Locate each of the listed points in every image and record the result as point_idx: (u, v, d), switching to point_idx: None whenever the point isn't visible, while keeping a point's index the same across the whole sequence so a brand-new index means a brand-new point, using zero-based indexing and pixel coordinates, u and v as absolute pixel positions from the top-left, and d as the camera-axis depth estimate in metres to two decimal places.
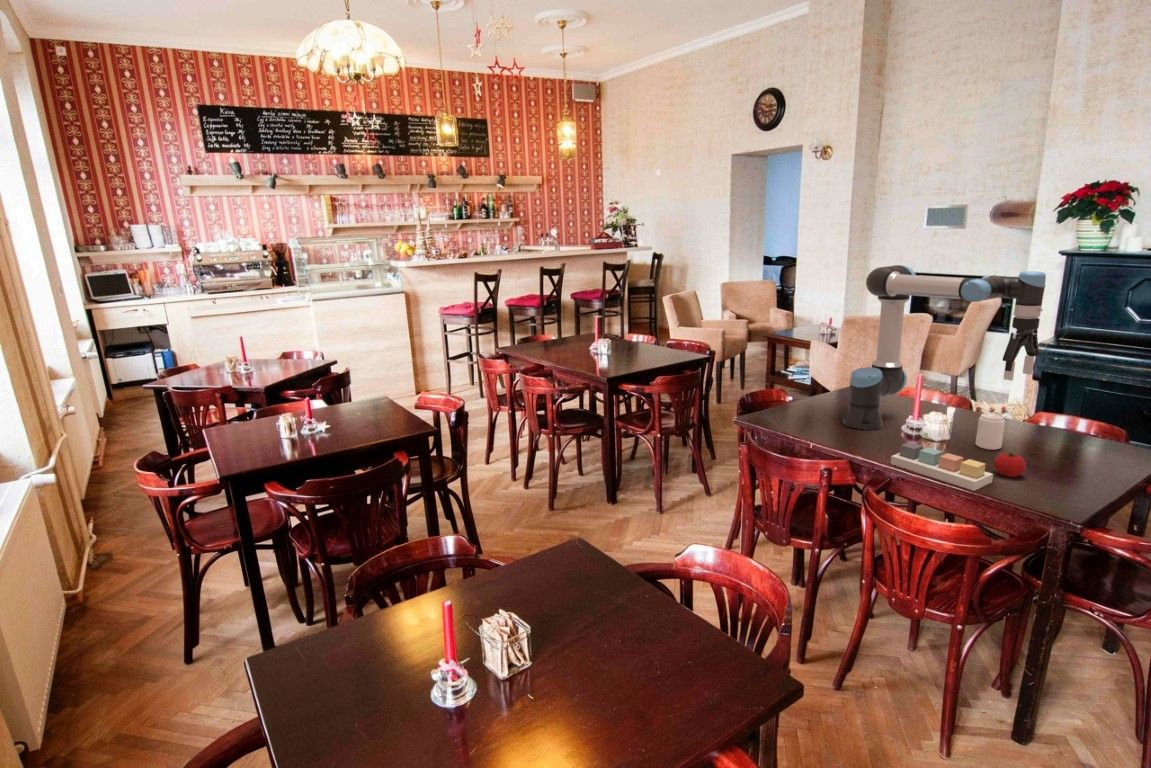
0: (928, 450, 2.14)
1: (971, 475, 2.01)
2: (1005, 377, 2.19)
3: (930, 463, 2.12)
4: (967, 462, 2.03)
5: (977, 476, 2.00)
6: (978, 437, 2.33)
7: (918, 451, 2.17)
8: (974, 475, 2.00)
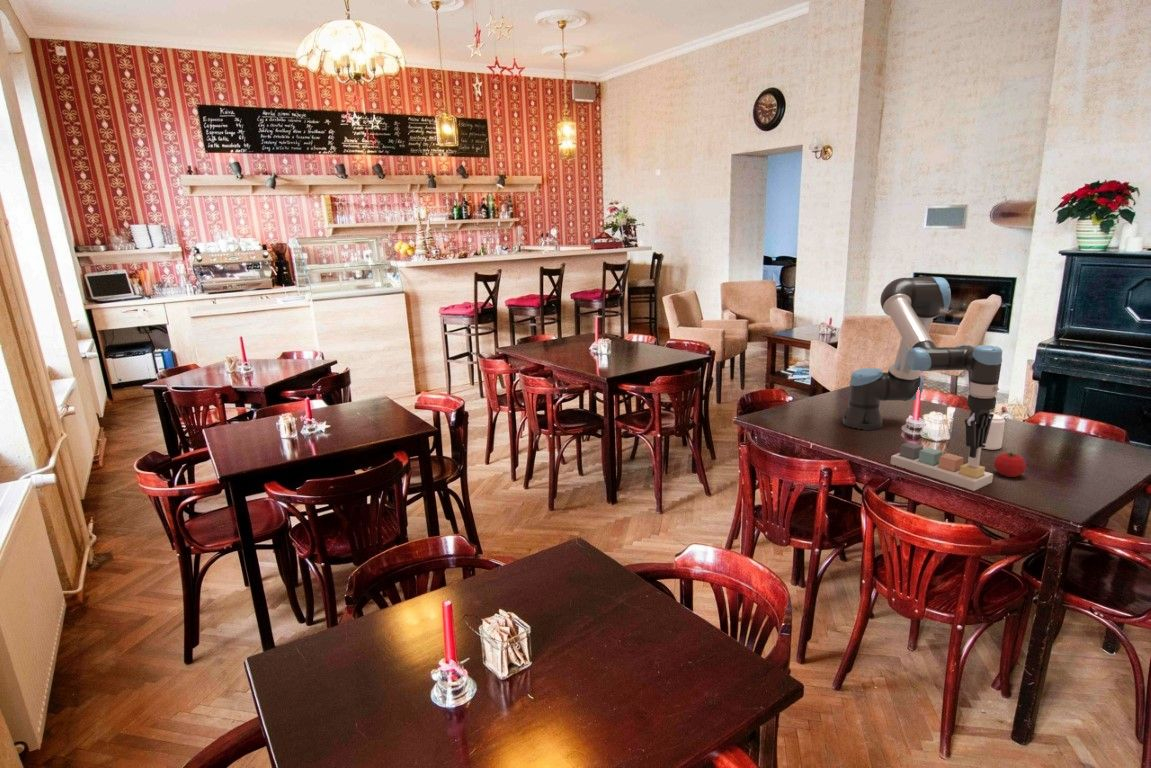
0: (928, 450, 2.14)
1: None
2: (969, 463, 2.02)
3: (930, 463, 2.12)
4: (967, 465, 2.03)
5: None
6: None
7: (918, 451, 2.17)
8: (974, 478, 2.00)
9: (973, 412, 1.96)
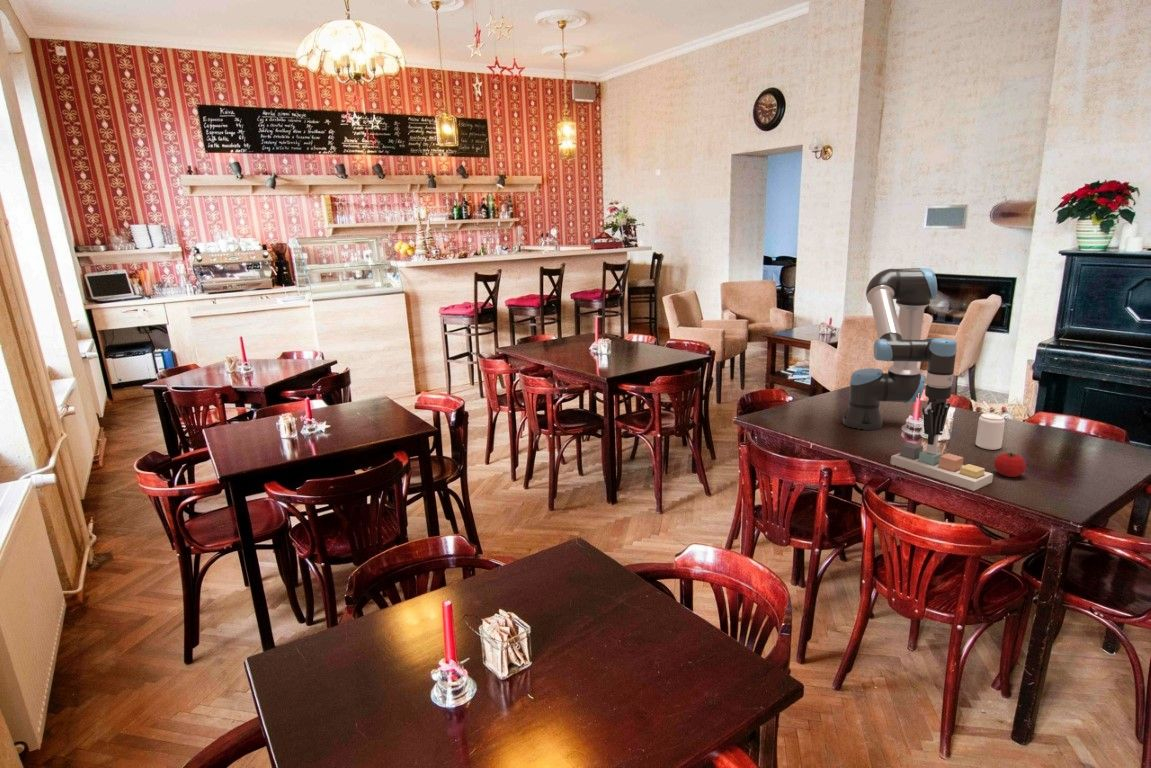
0: None
1: None
2: (928, 450, 2.13)
3: None
4: (966, 467, 2.03)
5: None
6: (978, 437, 2.33)
7: (918, 451, 2.17)
8: None
9: (930, 401, 2.07)
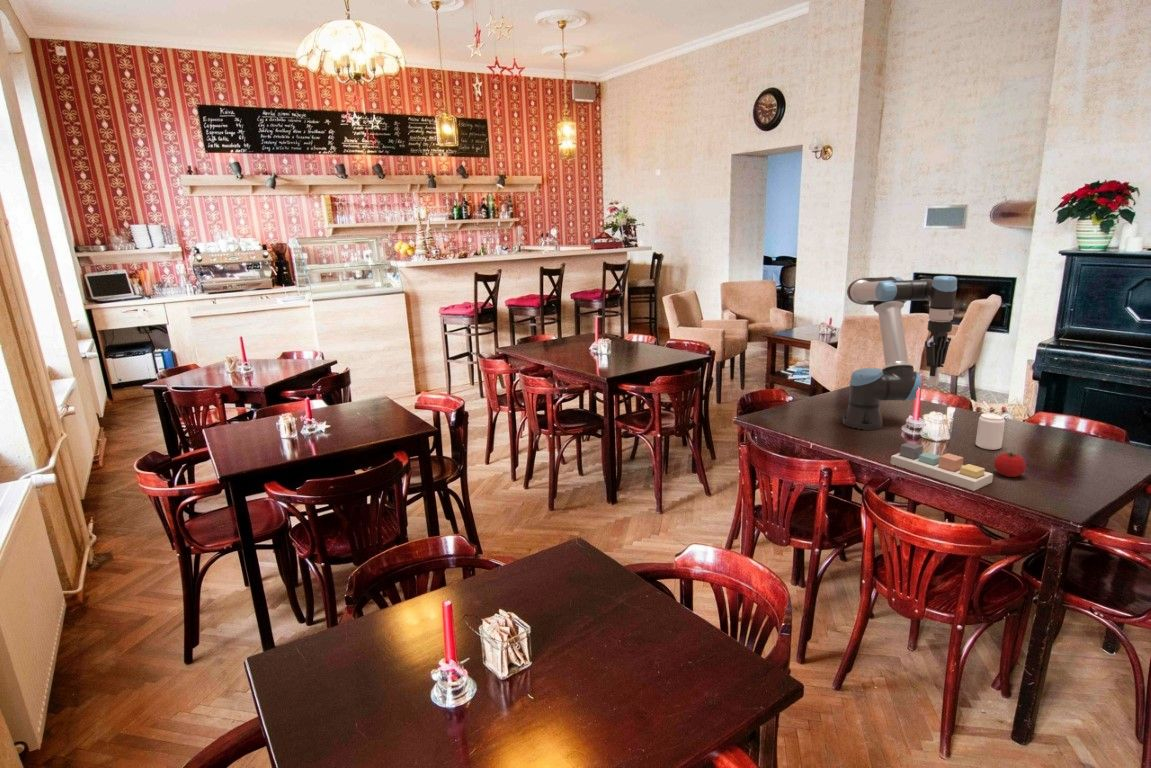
0: (928, 454, 2.15)
1: None
2: (930, 382, 2.30)
3: None
4: (966, 467, 2.03)
5: None
6: (978, 437, 2.33)
7: (918, 451, 2.17)
8: None
9: (932, 335, 2.23)
